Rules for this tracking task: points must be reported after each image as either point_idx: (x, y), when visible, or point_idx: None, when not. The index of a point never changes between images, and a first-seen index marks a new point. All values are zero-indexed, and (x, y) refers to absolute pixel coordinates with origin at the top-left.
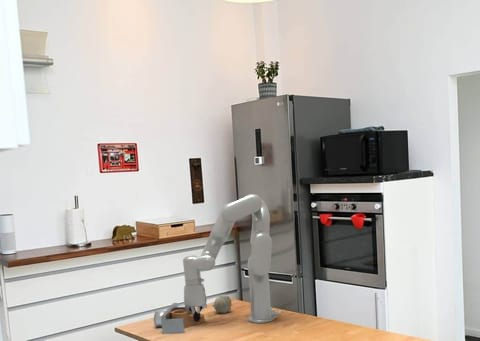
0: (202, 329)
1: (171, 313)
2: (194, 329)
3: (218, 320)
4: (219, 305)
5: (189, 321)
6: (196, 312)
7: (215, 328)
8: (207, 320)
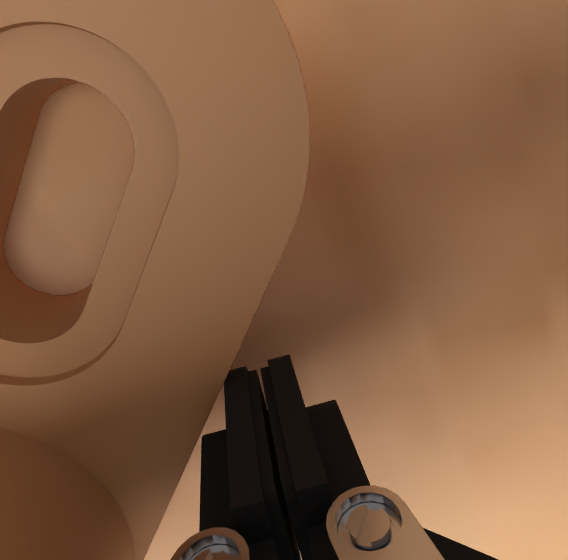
0: None
1: None
2: None
3: (559, 38)
4: None
5: (152, 527)
6: (277, 529)
7: (562, 453)
8: (336, 52)
